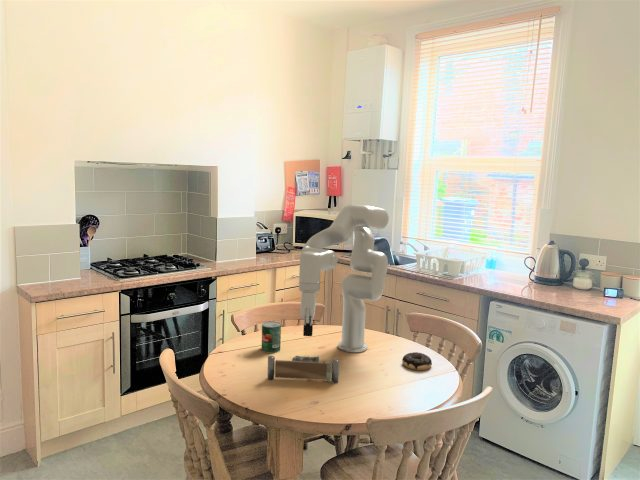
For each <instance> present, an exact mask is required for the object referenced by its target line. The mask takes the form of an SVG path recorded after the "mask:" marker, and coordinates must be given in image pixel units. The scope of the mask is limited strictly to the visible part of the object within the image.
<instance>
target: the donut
mask: <svg viewBox="0 0 640 480" xmlns="http://www.w3.org/2000/svg"><path fill="white" fill-rule="evenodd" d="M401 361H402V364H403V366H405V367H406V368H408V369H409V370H413V369H414V370H413V371H425V370H426V371H427V370H428V369H430V368H431V367H432V365H433V364H432V363H433V362H432V359H431V357H430V356H428V355H426V353H425V354H424V353H421V352H418V351H417V352H416V351H415V352H413V351H412V352H408V353H406V354H405V355H404V356H403V357H402V360H401Z"/></svg>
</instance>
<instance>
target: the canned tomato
mask: <svg viewBox="0 0 640 480" xmlns="http://www.w3.org/2000/svg"><path fill="white" fill-rule="evenodd" d="M281 334H282V323H281V322H279V321H275V320H273V321H264V322H262V324H261V351H262V352H263V351H264V352H263V353H266V352H268V354H275V353H279V352H280V351H281V339H282V338H281ZM278 351H279V352H278Z"/></svg>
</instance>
